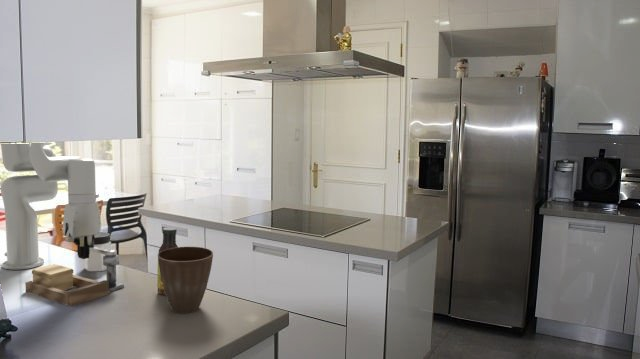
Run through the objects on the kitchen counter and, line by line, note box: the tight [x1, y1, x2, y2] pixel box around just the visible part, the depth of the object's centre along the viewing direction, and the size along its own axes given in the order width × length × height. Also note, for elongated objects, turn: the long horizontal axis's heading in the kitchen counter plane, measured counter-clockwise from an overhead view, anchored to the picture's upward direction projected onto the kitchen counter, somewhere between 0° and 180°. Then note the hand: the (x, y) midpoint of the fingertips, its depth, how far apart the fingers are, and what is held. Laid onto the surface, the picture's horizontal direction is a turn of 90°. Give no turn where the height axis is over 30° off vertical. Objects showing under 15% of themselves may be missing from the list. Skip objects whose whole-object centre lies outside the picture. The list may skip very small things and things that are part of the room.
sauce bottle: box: [156, 227, 179, 296], centre depth 150 cm, size 6×6×20 cm
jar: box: [83, 231, 112, 272], centre depth 172 cm, size 9×8×12 cm
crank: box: [89, 239, 118, 257], centre depth 154 cm, size 12×3×4 cm, turn 61°
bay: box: [24, 274, 110, 307], centre depth 148 cm, size 22×12×4 cm, turn 61°
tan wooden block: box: [31, 263, 74, 291], centre depth 151 cm, size 9×7×6 cm
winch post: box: [103, 254, 125, 293], centre depth 153 cm, size 5×5×10 cm
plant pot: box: [157, 246, 214, 314], centre depth 138 cm, size 15×15×16 cm
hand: (83, 257), depth 151 cm, fingers closed
